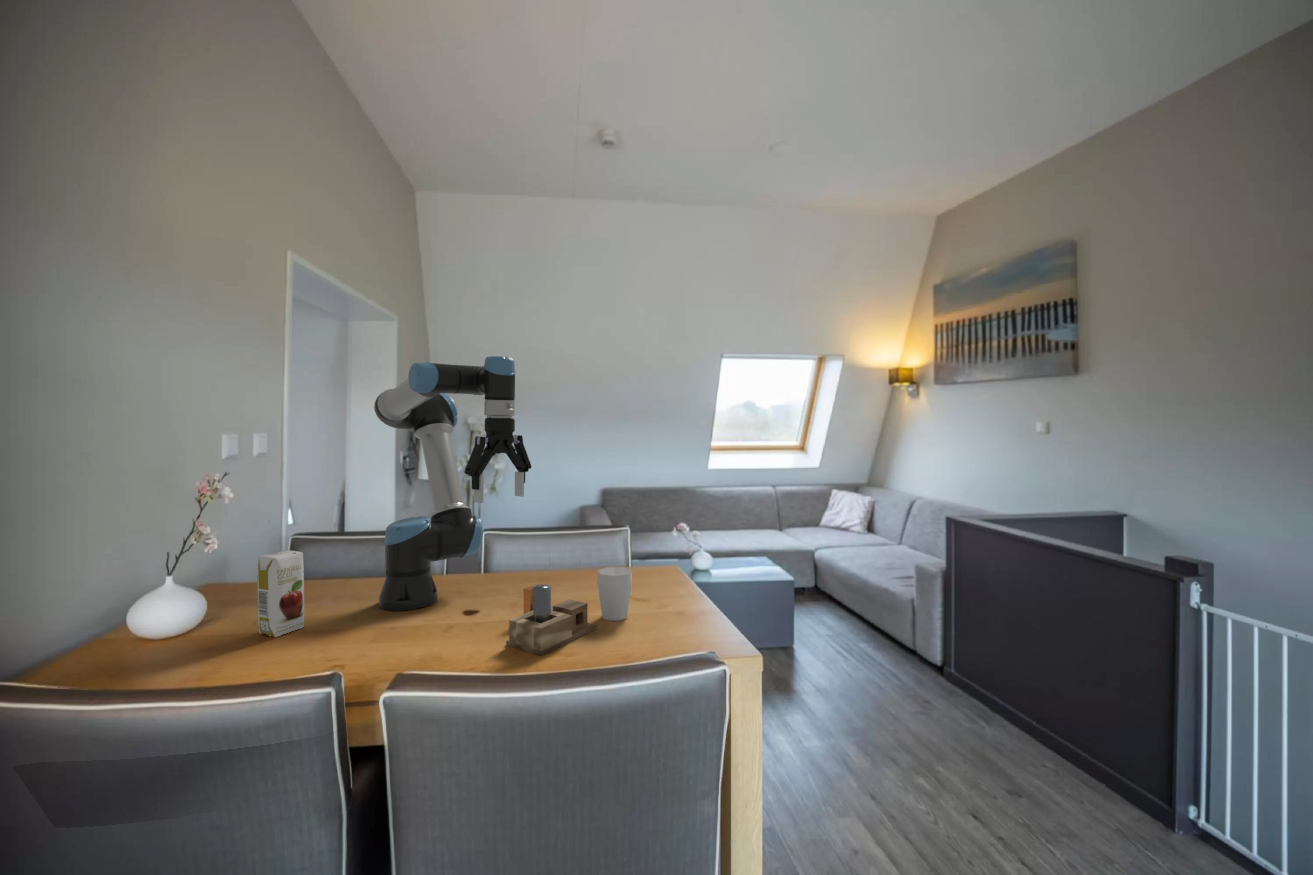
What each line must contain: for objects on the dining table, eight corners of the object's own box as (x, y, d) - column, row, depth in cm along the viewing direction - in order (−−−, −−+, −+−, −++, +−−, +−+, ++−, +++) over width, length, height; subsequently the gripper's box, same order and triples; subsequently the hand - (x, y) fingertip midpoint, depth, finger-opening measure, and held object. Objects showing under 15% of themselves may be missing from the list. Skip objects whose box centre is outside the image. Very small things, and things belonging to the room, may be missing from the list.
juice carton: (253, 635, 136) (251, 556, 135) (288, 623, 144) (286, 548, 143) (275, 639, 133) (273, 559, 132) (309, 627, 141) (308, 551, 140)
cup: (627, 623, 143) (627, 576, 143) (593, 621, 145) (592, 574, 145) (635, 612, 152) (635, 567, 152) (603, 609, 154) (603, 565, 153)
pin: (523, 619, 145) (523, 588, 145) (532, 616, 147) (532, 585, 147) (566, 631, 137) (566, 597, 137) (574, 627, 140) (574, 594, 139)
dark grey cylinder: (529, 639, 130) (529, 587, 130) (541, 634, 134) (542, 583, 133) (541, 642, 128) (542, 589, 128) (554, 637, 131) (554, 585, 131)
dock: (506, 644, 130) (505, 616, 129) (562, 620, 146) (562, 595, 145) (541, 655, 124) (541, 626, 123) (596, 628, 140) (596, 602, 139)
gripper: (469, 417, 134) (469, 507, 135) (544, 417, 155) (544, 494, 156) (449, 416, 138) (449, 503, 139) (525, 416, 159) (524, 492, 160)
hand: (499, 499), depth 147 cm, fingers open, 13 cm apart
